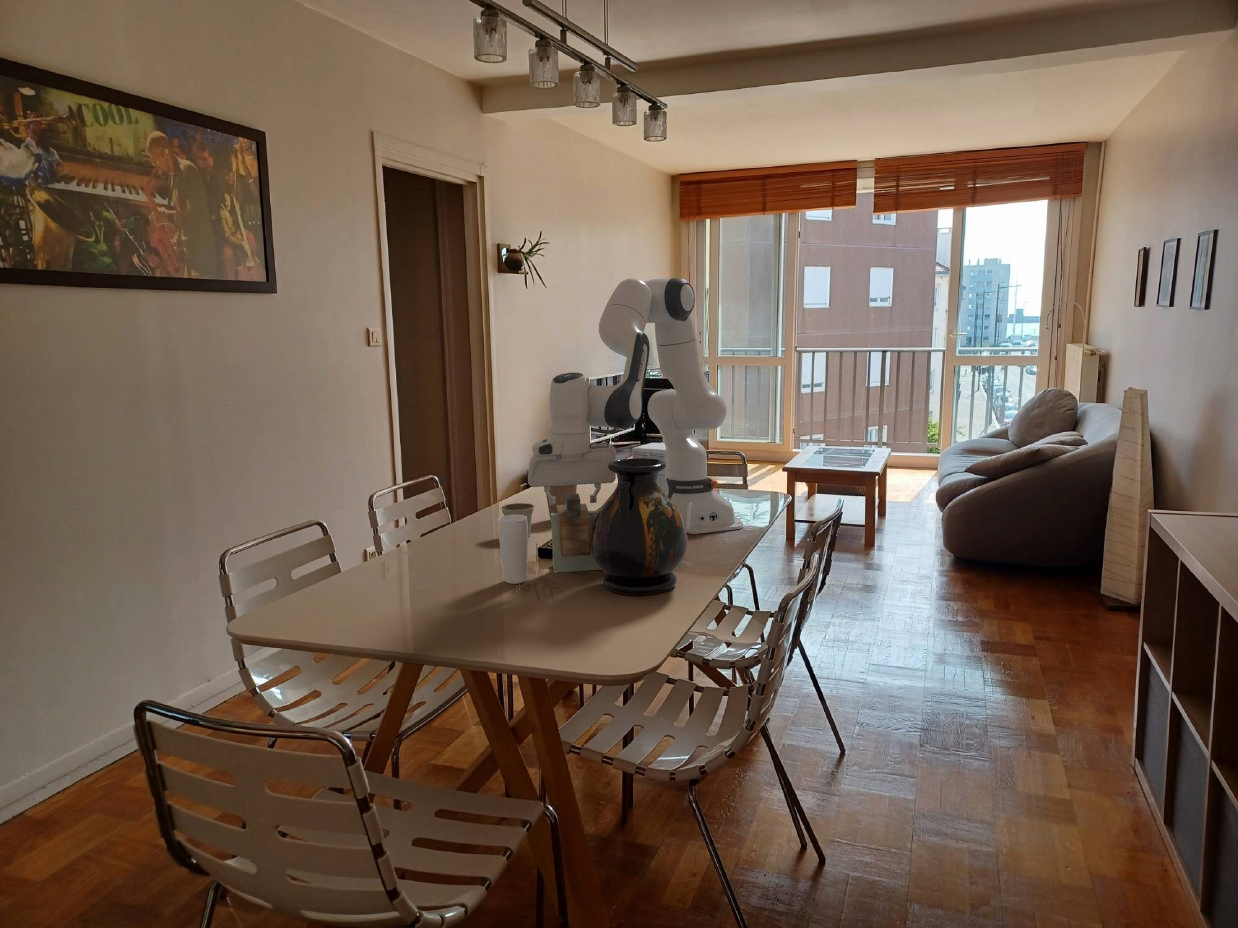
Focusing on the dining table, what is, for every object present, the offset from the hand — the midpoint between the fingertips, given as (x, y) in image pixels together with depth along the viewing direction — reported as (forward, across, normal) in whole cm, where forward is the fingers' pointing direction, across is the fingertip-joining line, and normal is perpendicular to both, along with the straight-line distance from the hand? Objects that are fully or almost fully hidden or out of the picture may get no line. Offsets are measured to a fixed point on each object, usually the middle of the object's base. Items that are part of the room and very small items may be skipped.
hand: (573, 503), depth 198 cm
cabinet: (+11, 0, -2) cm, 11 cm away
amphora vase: (+17, -14, +12) cm, 25 cm away
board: (+17, -3, -6) cm, 18 cm away
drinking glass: (+17, +14, +2) cm, 22 cm away
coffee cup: (+17, 0, -57) cm, 59 cm away
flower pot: (+17, +13, -40) cm, 45 cm away
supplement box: (+18, -34, -82) cm, 90 cm away
